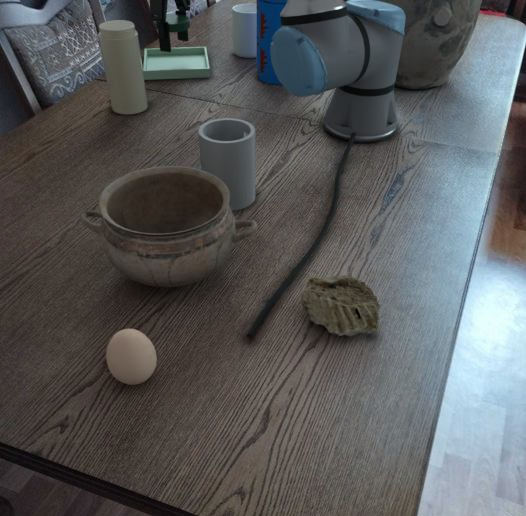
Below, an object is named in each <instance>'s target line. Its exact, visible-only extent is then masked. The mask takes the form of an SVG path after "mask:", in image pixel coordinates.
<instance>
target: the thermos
mask: <svg viewBox="0 0 526 516" xmlns="http://www.w3.org/2000/svg"><path fill="white" fill-rule="evenodd" d="M287 1H288V0H256V4H257V57H256V76H257V79H259V81H261V82H263V83H265V84H266V83H267V84H272V85H282V83H280V81H279V80H278V78H277V76H276V74H275V71H274V69H273V65H272V61H271V54H270V47H271V42H273V40H272V38H273V35H274V34H275V33H276V31H278V30H279V29H280V28H281V17H280V13H281V12H282V10H283V9H284V7H285V6H286V4H287Z"/></svg>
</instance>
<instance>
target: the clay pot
mask: <svg viewBox="0 0 526 516" xmlns="http://www.w3.org/2000/svg"><path fill="white" fill-rule="evenodd" d="M376 1H380V2H385V3H389V4H392V5H395V6H397V7H399V8H401V9H402V10H403V11H404V13H405V16H406V19H405V28H404V32H405V34H404V36H403V42H402V47H401V53H400V58H399V64H398V69H397V75H396V80H395V86H396V87H398V88H402V89H405V90H406V89H407V90H424V89H425V90H426V89H431V88H437V87H439V86H442V85H444V84H445V83H446V82H447V80H448V78H449V76H450V74H451V73H452V71H453V70H454V68H455V67H456V66H457V64H458V63H459V61H460V60H461V58H462V57H463V55H464V54H465V51H466V49H467V47H468V45H469V43H470V40H471V38H472V35H473V33H474V31H475V28H476V26H477V22H478V19H479V15H480V11H481V5H482V3H483V0H376ZM395 86H394V87H395Z"/></svg>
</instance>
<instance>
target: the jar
mask: <svg viewBox="0 0 526 516" xmlns="http://www.w3.org/2000/svg"><path fill="white" fill-rule="evenodd" d="M98 29H99V32H98V34H97V38H98V42H99V47H100V53H101V58H102V63H103V69H104V75H105V79H106V86H107V90H108V95H109V100H110V106H111V110H112V111H113V112H114V113H116V114H120V115H136V114H140V113H142V112H143V113H144V112H145V111H146V110H147V109H148V107H149V104H148V97H147V91H146V81H145V80H144V73H143V63H142V55H141V47H140V39H139V33H138V31H137V30H136V25H135V23H134V22H132V21H130V20H125V19H113V20H108V21H104V22H101V23H100V24H99V25H98Z"/></svg>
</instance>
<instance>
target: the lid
mask: <svg viewBox="0 0 526 516" xmlns="http://www.w3.org/2000/svg"><path fill="white" fill-rule="evenodd" d="M166 21H167V22H168V23H169V33H177V32H181V31H185V30H187V29H188V30H189V29H190V27H191V23H190V17H189V16H188V15H187V16H185V15H181V14H175V13H167V15H166ZM154 28H155V29H156V31H158V29H157V23H156V22H155V21H154Z"/></svg>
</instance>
